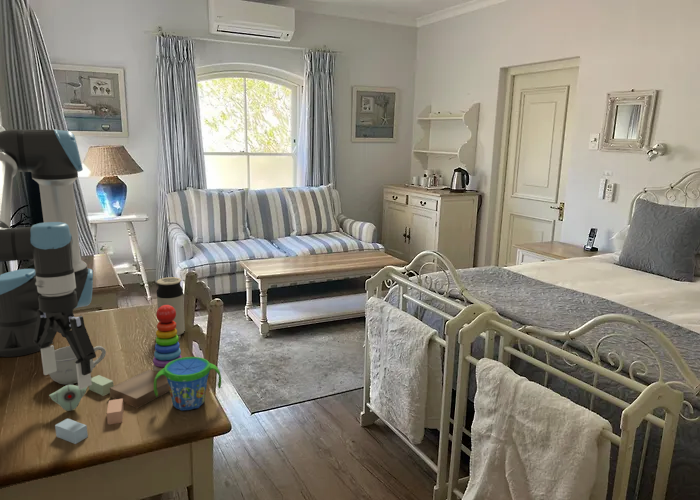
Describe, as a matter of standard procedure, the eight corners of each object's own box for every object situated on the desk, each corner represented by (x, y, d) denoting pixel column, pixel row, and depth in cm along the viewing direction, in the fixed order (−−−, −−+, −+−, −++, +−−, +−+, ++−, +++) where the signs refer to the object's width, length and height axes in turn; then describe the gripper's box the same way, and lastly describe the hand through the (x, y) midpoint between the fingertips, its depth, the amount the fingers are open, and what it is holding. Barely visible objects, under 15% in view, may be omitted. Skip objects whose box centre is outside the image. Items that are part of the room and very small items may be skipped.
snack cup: (222, 390, 132) (220, 353, 129) (221, 411, 122) (220, 372, 119) (158, 396, 128) (155, 358, 126) (152, 418, 118) (149, 378, 116)
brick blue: (56, 437, 111) (54, 425, 110) (69, 430, 113) (67, 418, 113) (75, 444, 108) (74, 432, 108) (87, 437, 111) (86, 425, 110)
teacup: (48, 392, 129) (44, 363, 127) (50, 374, 138) (46, 347, 136) (108, 381, 135) (106, 353, 133) (106, 364, 145) (104, 338, 143)
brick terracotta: (110, 411, 121) (108, 400, 120) (123, 409, 122) (122, 398, 121) (107, 425, 116) (106, 413, 115) (122, 423, 117) (121, 411, 116)
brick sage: (89, 390, 131) (88, 379, 130) (100, 385, 133) (99, 374, 133) (103, 396, 128) (102, 385, 127) (114, 391, 130) (113, 380, 130)
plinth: (110, 397, 127) (109, 387, 127) (150, 377, 137) (149, 369, 137) (137, 408, 122) (136, 398, 122) (176, 387, 133) (175, 378, 132)
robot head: (88, 402, 124) (86, 377, 123) (90, 410, 121) (88, 384, 120) (51, 411, 120) (47, 385, 119) (52, 420, 117) (48, 393, 115)
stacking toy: (173, 377, 138) (169, 311, 134) (147, 374, 140) (142, 309, 135) (188, 364, 146) (184, 302, 141) (163, 361, 147) (158, 300, 143)
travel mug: (175, 326, 174) (172, 275, 170) (190, 331, 169) (187, 279, 165) (154, 333, 167) (150, 280, 163) (169, 339, 163) (165, 285, 159)
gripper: (9, 287, 117) (20, 373, 121) (74, 305, 105) (85, 400, 109) (42, 280, 123) (52, 361, 128) (107, 296, 111) (116, 386, 116)
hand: (67, 379), depth 118 cm, fingers open, 13 cm apart
